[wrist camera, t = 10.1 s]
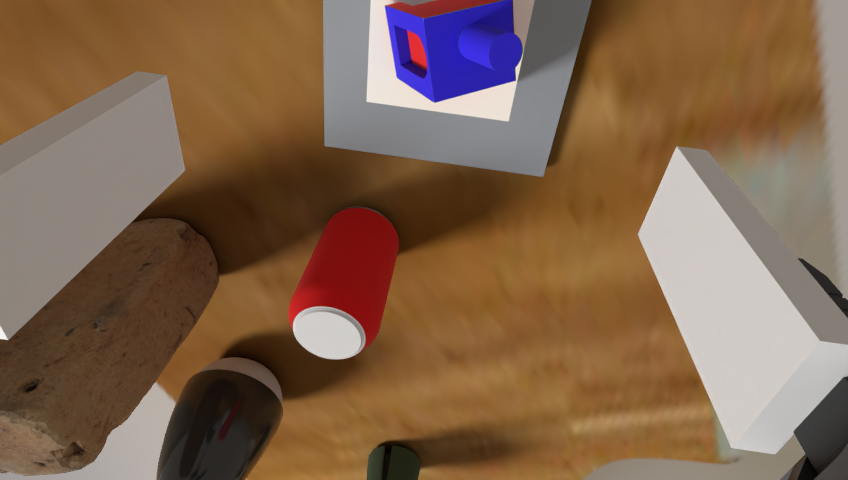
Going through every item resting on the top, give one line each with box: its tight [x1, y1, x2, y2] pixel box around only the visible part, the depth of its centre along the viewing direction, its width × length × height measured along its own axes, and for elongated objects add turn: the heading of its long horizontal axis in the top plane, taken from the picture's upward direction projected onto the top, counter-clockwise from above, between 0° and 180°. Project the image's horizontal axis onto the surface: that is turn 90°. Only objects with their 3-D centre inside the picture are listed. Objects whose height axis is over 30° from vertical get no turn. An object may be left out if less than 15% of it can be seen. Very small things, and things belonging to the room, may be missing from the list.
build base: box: [323, 0, 592, 177], centre depth 29 cm, size 20×16×7 cm
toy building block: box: [385, 0, 523, 103], centre depth 23 cm, size 4×4×8 cm
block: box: [0, 218, 219, 476], centre depth 37 cm, size 11×8×20 cm
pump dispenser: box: [157, 357, 283, 480], centre depth 48 cm, size 10×10×15 cm
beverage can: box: [289, 207, 399, 360], centre depth 37 cm, size 6×6×12 cm
